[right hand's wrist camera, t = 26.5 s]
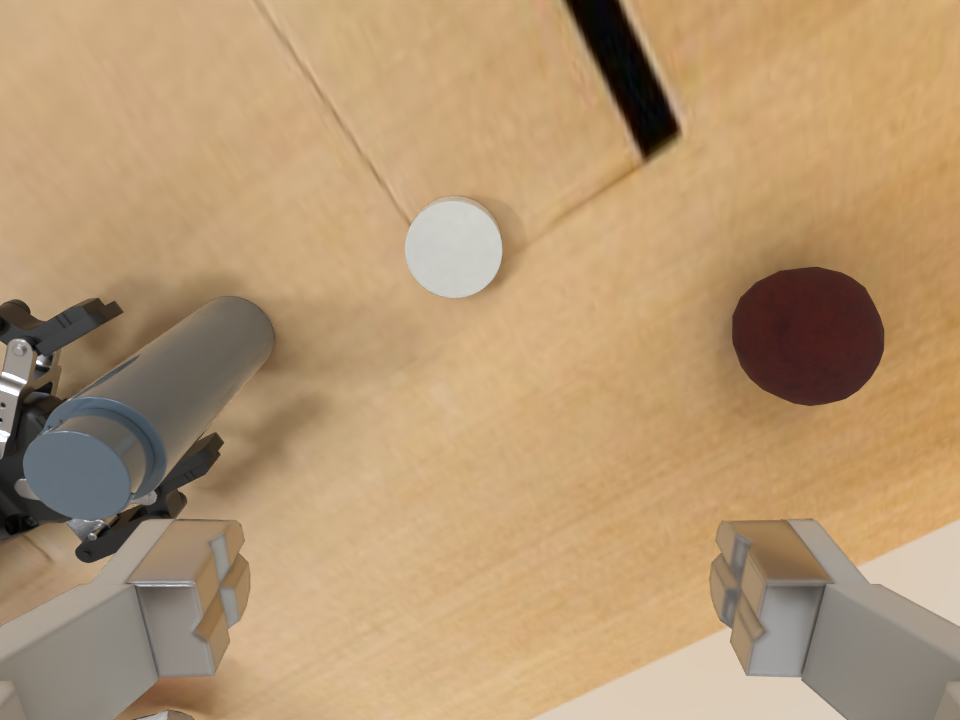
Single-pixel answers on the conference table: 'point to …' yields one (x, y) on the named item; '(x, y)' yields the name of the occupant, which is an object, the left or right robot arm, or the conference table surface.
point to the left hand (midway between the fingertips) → (165, 380)
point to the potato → (808, 335)
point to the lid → (454, 247)
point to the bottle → (146, 411)
